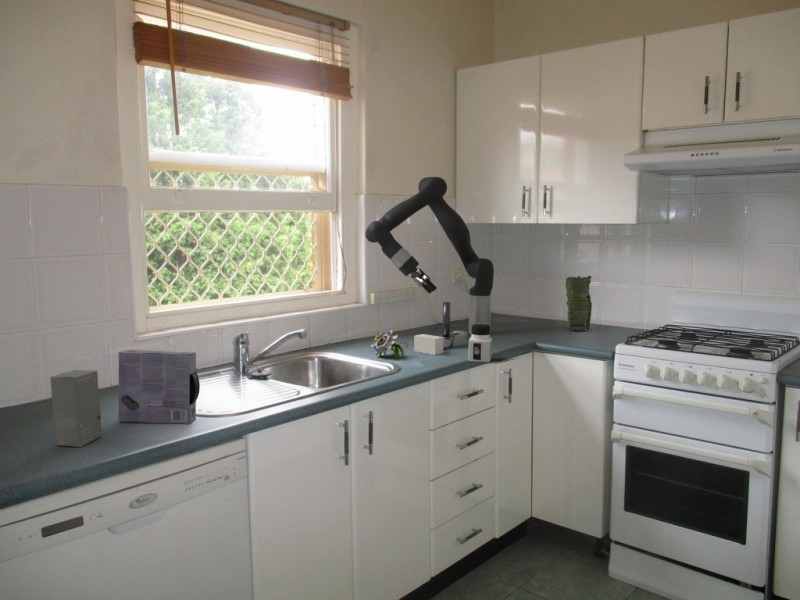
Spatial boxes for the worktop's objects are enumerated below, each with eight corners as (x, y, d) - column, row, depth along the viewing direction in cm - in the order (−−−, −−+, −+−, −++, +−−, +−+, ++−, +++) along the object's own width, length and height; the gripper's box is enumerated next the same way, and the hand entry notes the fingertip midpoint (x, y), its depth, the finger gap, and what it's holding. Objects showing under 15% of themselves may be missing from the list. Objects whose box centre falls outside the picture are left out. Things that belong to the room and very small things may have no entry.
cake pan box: (201, 418, 168) (199, 349, 166) (194, 424, 163) (192, 354, 161) (126, 417, 169) (123, 348, 167) (117, 423, 164) (114, 352, 162)
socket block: (422, 349, 257) (422, 334, 257) (443, 352, 251) (443, 337, 250) (414, 351, 254) (414, 335, 253) (435, 354, 247) (435, 339, 246)
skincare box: (80, 448, 146) (77, 377, 144) (51, 446, 147) (47, 376, 145) (104, 435, 154) (100, 369, 152) (76, 433, 156) (72, 367, 154)
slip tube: (457, 341, 269) (457, 299, 267) (464, 342, 267) (464, 300, 264) (433, 347, 257) (434, 303, 255) (440, 348, 255) (441, 304, 253)
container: (490, 362, 235) (491, 326, 233) (468, 361, 236) (469, 325, 235) (491, 358, 242) (492, 322, 241) (470, 357, 244) (471, 322, 242)
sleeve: (457, 343, 270) (457, 330, 270) (467, 344, 267) (467, 331, 266) (443, 346, 264) (443, 333, 263) (454, 348, 260) (454, 334, 260)
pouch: (562, 330, 301) (565, 275, 298) (567, 327, 312) (569, 273, 309) (588, 332, 297) (590, 277, 294) (591, 328, 308) (593, 274, 305)
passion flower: (379, 372, 243) (363, 343, 245) (400, 362, 250) (384, 335, 252) (394, 359, 235) (377, 330, 237) (415, 349, 242) (399, 321, 244)
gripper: (413, 252, 256) (443, 282, 256) (408, 257, 270) (436, 286, 270) (400, 265, 255) (429, 296, 255) (395, 270, 269) (423, 299, 269)
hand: (433, 291), depth 263 cm, fingers open, 8 cm apart
